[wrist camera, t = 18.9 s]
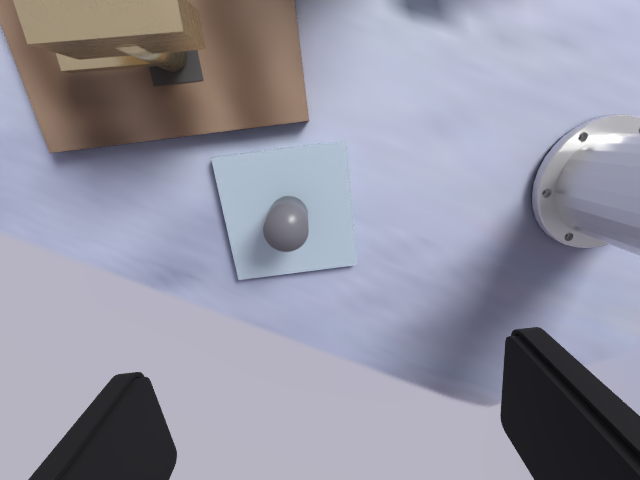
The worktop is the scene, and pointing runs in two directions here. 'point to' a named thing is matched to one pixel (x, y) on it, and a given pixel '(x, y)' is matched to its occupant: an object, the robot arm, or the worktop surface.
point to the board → (173, 82)
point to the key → (112, 32)
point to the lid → (287, 209)
